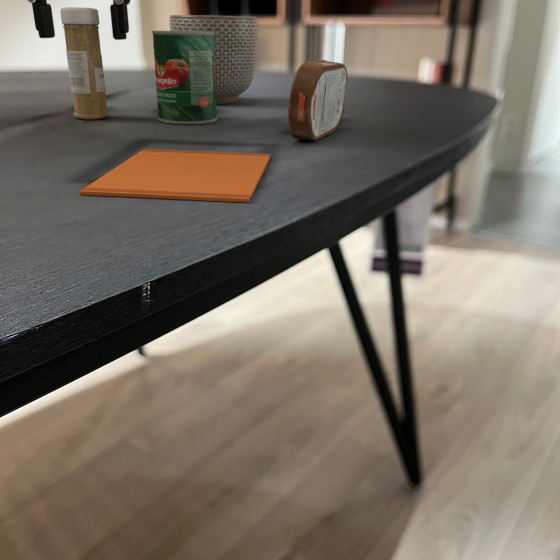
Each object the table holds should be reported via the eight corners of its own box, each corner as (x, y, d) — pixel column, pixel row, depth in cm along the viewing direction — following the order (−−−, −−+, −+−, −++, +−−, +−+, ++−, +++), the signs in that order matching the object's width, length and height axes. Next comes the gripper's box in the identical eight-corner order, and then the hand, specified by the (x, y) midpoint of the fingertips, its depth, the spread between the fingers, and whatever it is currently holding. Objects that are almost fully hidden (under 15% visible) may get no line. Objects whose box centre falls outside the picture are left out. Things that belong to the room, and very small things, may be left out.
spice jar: (115, 118, 77) (104, 8, 72) (84, 121, 74) (70, 7, 69) (98, 114, 80) (86, 8, 75) (67, 117, 77) (53, 7, 72)
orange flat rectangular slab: (80, 194, 44) (79, 190, 43) (143, 151, 58) (143, 148, 58) (248, 202, 43) (248, 198, 42) (270, 157, 57) (270, 153, 57)
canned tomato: (226, 117, 80) (224, 32, 75) (202, 126, 73) (198, 32, 68) (174, 114, 82) (170, 30, 77) (146, 122, 75) (140, 30, 70)
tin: (325, 125, 76) (328, 57, 72) (348, 127, 75) (352, 58, 71) (284, 145, 63) (286, 63, 59) (311, 148, 62) (315, 65, 58)
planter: (161, 104, 90) (155, 14, 85) (189, 95, 103) (185, 15, 97) (246, 109, 88) (246, 16, 83) (264, 98, 101) (265, 17, 95)
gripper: (147, -115, 69) (157, 39, 76) (10, -115, 70) (32, 36, 77) (127, -130, 62) (140, 41, 69) (-25, -130, 63) (3, 38, 70)
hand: (83, 38), depth 73 cm, fingers open, 9 cm apart
